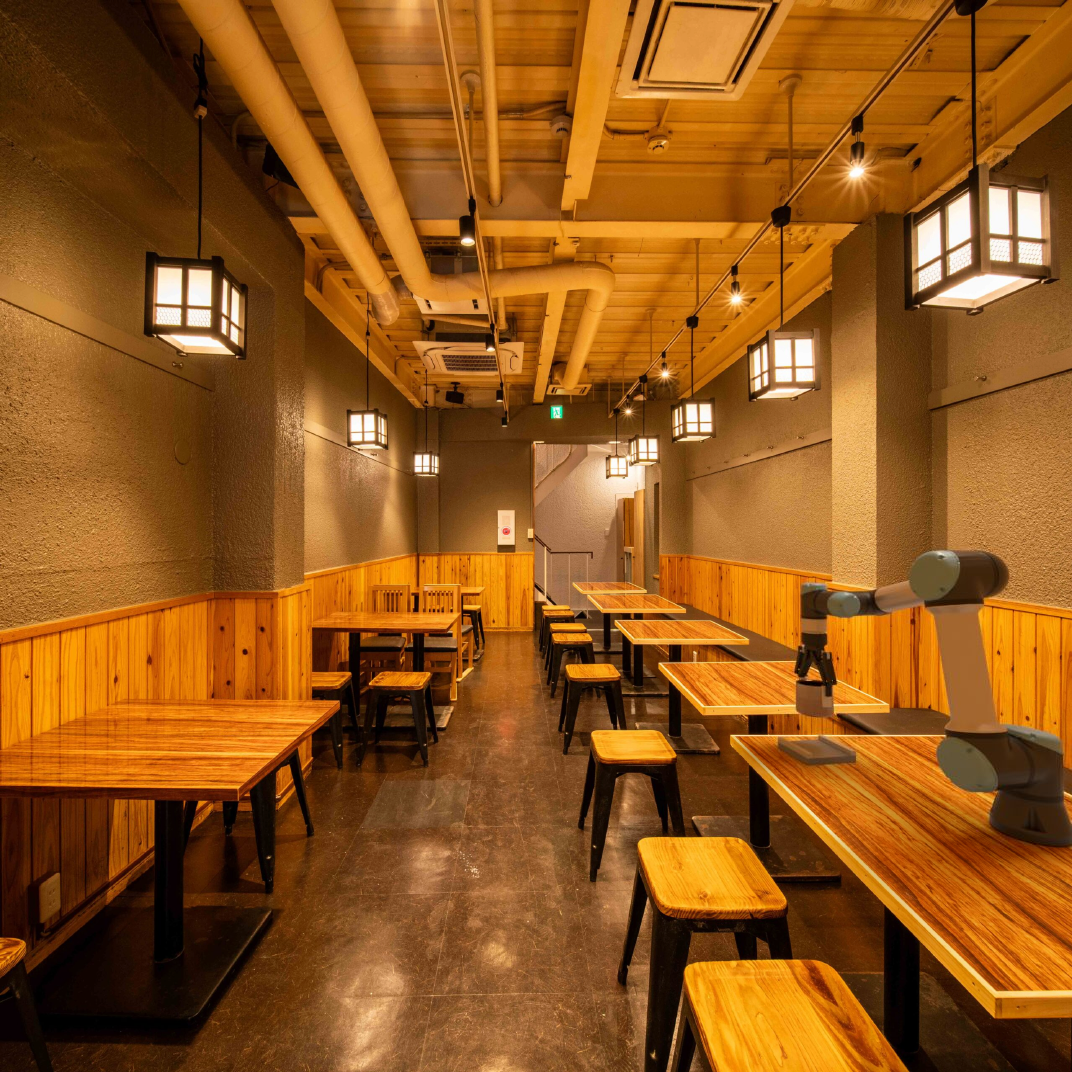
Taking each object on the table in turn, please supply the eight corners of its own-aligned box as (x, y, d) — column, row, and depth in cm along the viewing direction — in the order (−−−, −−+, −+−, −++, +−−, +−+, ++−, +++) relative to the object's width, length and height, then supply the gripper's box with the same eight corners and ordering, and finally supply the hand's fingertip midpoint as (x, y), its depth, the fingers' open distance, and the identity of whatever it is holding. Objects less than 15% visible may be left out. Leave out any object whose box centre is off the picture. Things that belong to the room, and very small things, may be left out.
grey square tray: (856, 762, 179) (856, 751, 180) (807, 765, 177) (807, 753, 177) (822, 745, 195) (822, 734, 195) (777, 747, 193) (777, 737, 193)
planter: (798, 716, 183) (797, 685, 183) (793, 707, 193) (793, 678, 193) (836, 719, 180) (836, 687, 180) (830, 710, 190) (830, 680, 190)
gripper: (849, 636, 176) (851, 711, 176) (802, 627, 199) (803, 692, 199) (827, 637, 175) (828, 712, 174) (782, 627, 198) (782, 693, 197)
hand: (815, 702), depth 186 cm, fingers closed on planter, 11 cm apart
